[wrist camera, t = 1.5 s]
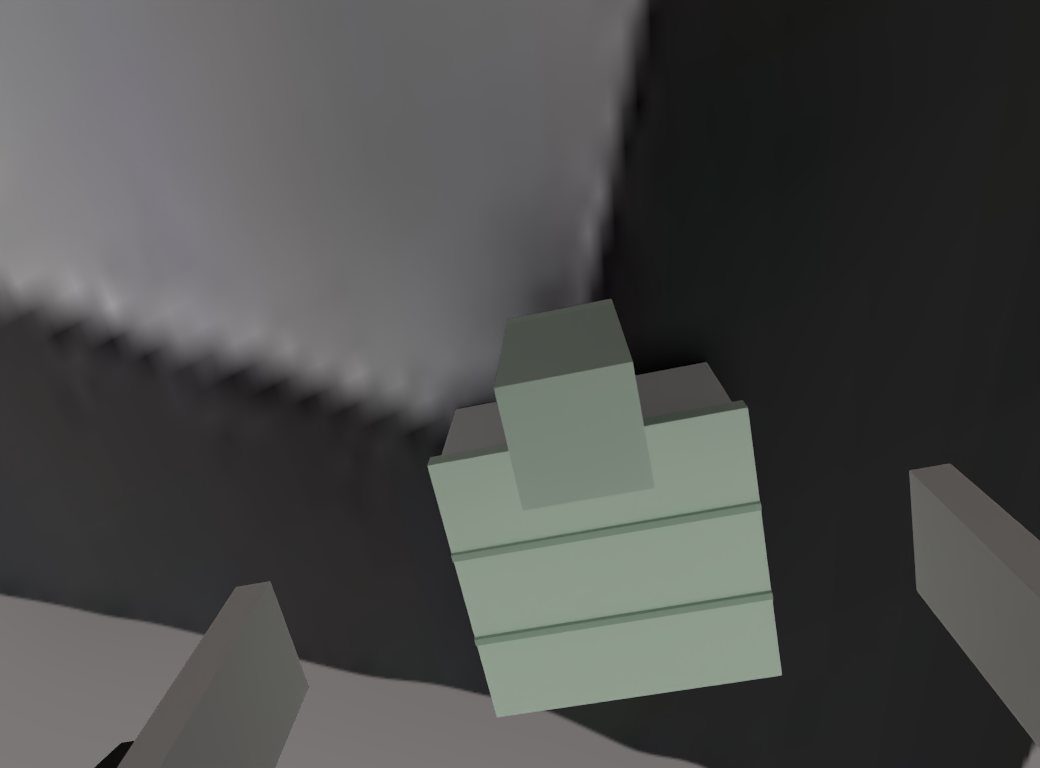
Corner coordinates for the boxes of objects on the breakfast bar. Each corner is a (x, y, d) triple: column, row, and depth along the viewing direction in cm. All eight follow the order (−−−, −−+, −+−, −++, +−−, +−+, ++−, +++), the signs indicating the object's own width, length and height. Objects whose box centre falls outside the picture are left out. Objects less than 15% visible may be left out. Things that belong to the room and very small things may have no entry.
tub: (455, 409, 37) (439, 462, 32) (706, 362, 36) (735, 408, 30) (509, 617, 41) (502, 698, 35) (737, 580, 40) (769, 658, 34)
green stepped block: (398, 341, 30) (349, 415, 23) (726, 275, 29) (788, 331, 21) (498, 704, 36) (484, 858, 28) (776, 663, 34) (839, 813, 27)
